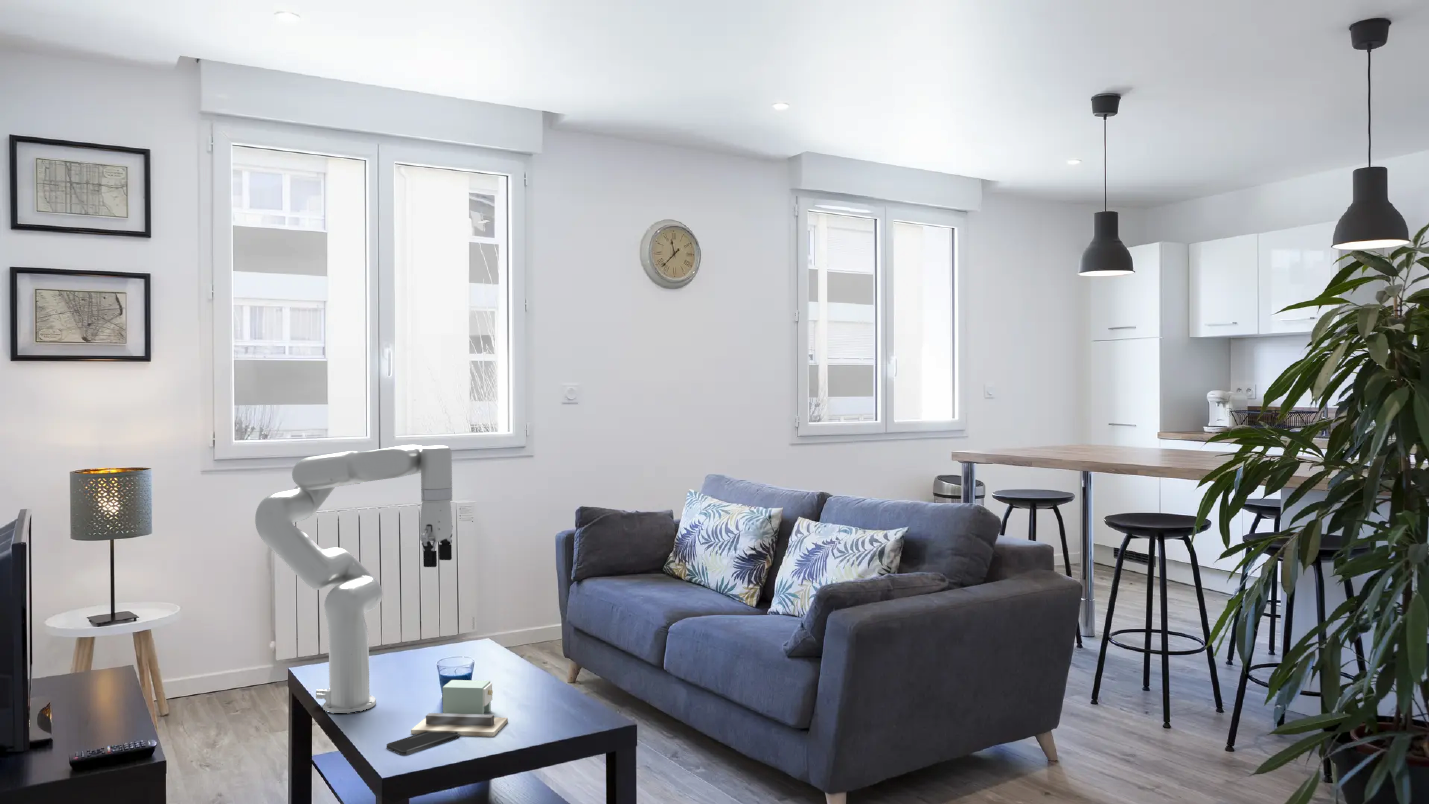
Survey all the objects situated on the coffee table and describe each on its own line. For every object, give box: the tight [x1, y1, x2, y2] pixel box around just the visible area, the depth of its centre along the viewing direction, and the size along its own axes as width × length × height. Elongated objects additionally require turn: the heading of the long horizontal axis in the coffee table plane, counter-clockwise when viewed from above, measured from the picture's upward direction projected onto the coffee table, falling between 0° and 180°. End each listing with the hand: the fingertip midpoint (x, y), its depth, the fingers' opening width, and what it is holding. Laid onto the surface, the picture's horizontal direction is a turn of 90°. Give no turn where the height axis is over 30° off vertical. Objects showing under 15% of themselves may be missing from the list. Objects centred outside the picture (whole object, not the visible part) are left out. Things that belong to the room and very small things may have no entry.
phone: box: [386, 731, 460, 756], centre depth 227 cm, size 8×1×15 cm
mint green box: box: [442, 679, 494, 714], centre depth 247 cm, size 11×6×8 cm, turn 84°
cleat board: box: [410, 712, 509, 737], centre depth 237 cm, size 20×10×3 cm, turn 83°
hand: (437, 563), depth 250 cm, fingers open, 9 cm apart
